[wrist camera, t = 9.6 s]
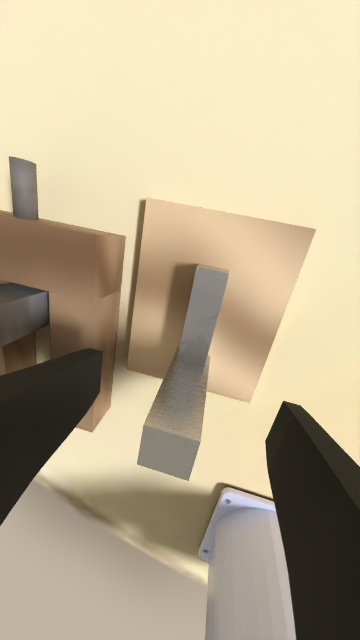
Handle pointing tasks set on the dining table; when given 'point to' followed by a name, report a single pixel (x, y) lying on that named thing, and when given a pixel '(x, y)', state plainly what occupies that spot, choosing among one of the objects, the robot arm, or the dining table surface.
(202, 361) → the grey l-shaped block
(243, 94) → the dining table surface
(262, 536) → the robot arm
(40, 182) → the dining table surface
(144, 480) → the dining table surface
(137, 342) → the cork mat
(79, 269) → the vise
